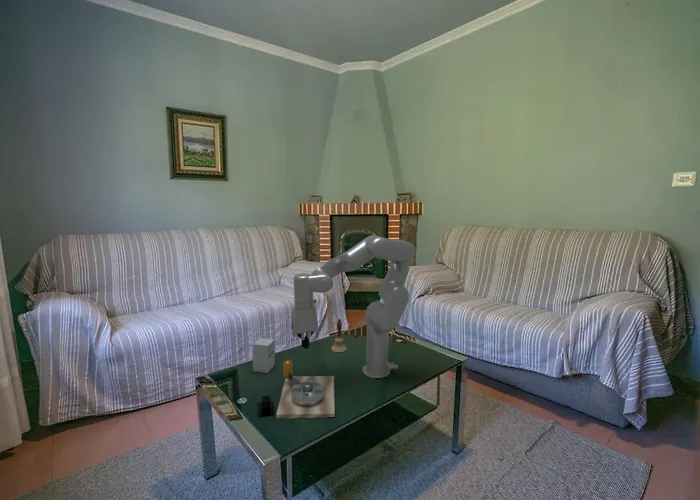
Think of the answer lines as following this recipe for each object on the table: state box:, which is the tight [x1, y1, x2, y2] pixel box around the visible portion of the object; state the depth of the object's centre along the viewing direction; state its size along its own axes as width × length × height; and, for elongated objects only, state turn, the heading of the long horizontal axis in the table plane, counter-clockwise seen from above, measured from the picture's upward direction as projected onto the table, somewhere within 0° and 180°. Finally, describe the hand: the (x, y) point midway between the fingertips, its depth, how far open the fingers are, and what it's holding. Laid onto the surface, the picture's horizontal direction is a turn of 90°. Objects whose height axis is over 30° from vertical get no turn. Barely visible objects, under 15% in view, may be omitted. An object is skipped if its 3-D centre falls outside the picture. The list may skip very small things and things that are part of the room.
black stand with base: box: [257, 395, 275, 419], centre depth 123 cm, size 12×7×5 cm, turn 16°
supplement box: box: [252, 337, 276, 374], centre depth 152 cm, size 7×7×13 cm
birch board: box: [275, 375, 336, 419], centre depth 131 cm, size 20×26×2 cm
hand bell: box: [330, 318, 348, 353], centre depth 173 cm, size 8×8×16 cm
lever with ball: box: [282, 359, 324, 407], centre depth 131 cm, size 22×12×9 cm, turn 41°
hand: (305, 347), depth 140 cm, fingers closed
